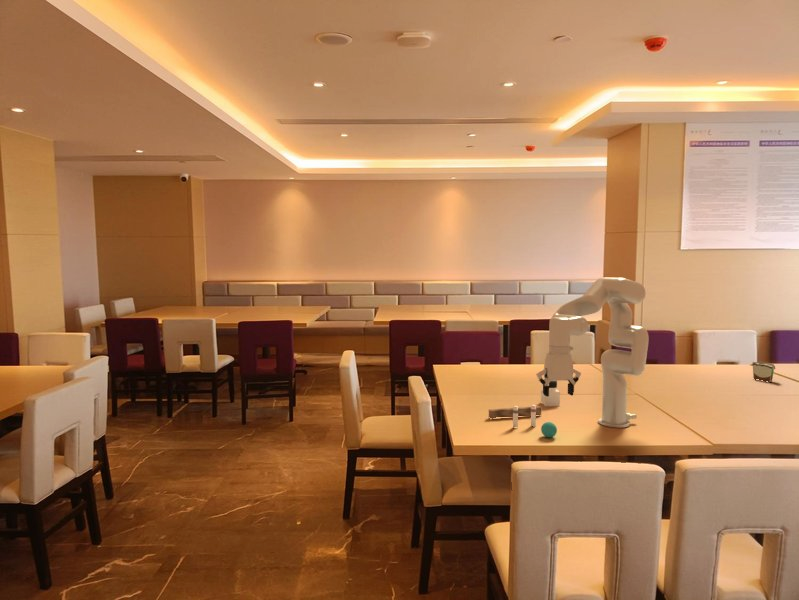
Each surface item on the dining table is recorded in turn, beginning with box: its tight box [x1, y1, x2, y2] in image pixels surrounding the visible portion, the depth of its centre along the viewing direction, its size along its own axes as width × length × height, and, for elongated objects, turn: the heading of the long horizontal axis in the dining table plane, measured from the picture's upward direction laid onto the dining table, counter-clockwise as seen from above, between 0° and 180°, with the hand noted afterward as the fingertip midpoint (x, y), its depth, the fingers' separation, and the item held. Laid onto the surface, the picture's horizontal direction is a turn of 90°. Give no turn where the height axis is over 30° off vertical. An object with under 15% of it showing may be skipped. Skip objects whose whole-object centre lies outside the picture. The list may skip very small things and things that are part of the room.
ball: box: [540, 421, 558, 438], centre depth 214 cm, size 6×6×6 cm
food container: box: [751, 361, 776, 383], centre depth 308 cm, size 12×6×10 cm, turn 22°
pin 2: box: [530, 404, 537, 428], centre depth 228 cm, size 2×2×9 cm
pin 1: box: [512, 405, 519, 428], centre depth 226 cm, size 2×2×9 cm
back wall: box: [488, 405, 542, 418], centre depth 242 cm, size 24×2×4 cm, turn 102°
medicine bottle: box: [540, 381, 561, 407], centre depth 262 cm, size 7×7×12 cm
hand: (558, 395), depth 205 cm, fingers open, 9 cm apart
